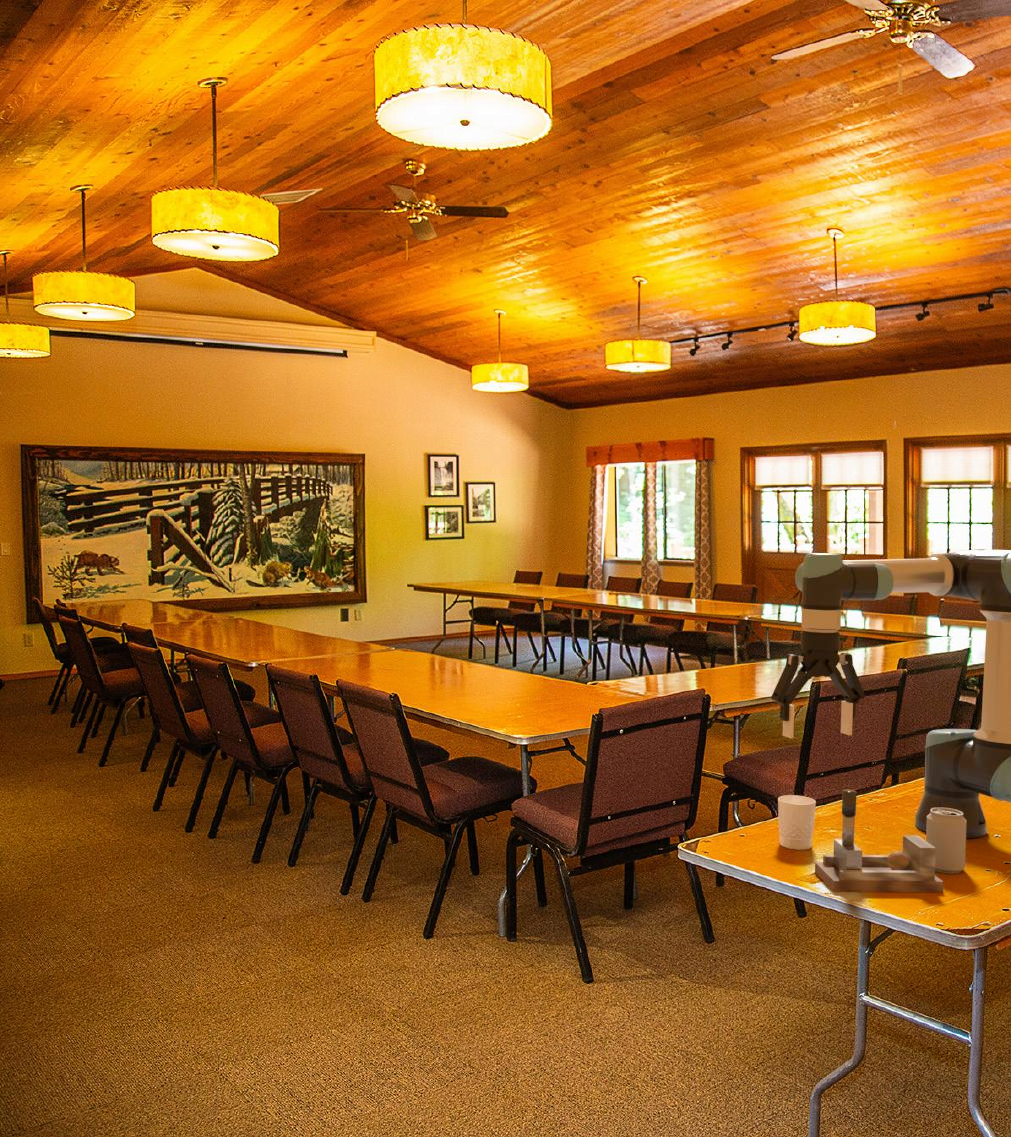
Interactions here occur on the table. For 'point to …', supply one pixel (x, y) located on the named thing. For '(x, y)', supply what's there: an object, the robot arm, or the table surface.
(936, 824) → the can
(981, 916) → the table surface
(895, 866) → the tan ball
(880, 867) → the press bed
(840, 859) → the ram
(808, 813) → the white cup
